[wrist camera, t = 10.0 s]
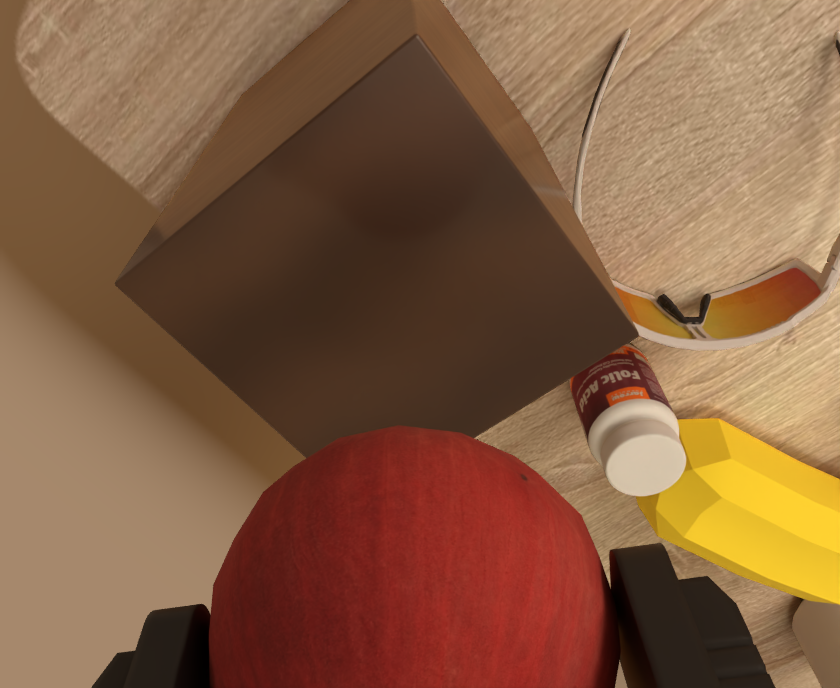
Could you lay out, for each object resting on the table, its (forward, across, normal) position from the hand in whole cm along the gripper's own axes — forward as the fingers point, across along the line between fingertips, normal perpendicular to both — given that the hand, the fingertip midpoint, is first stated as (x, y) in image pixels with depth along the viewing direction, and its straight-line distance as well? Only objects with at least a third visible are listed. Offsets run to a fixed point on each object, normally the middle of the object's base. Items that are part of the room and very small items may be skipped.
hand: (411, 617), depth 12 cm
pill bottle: (+31, -9, +18) cm, 37 cm away
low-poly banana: (+31, -18, +28) cm, 45 cm away
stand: (+31, +1, +1) cm, 31 cm away
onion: (+4, 0, 0) cm, 4 cm away
